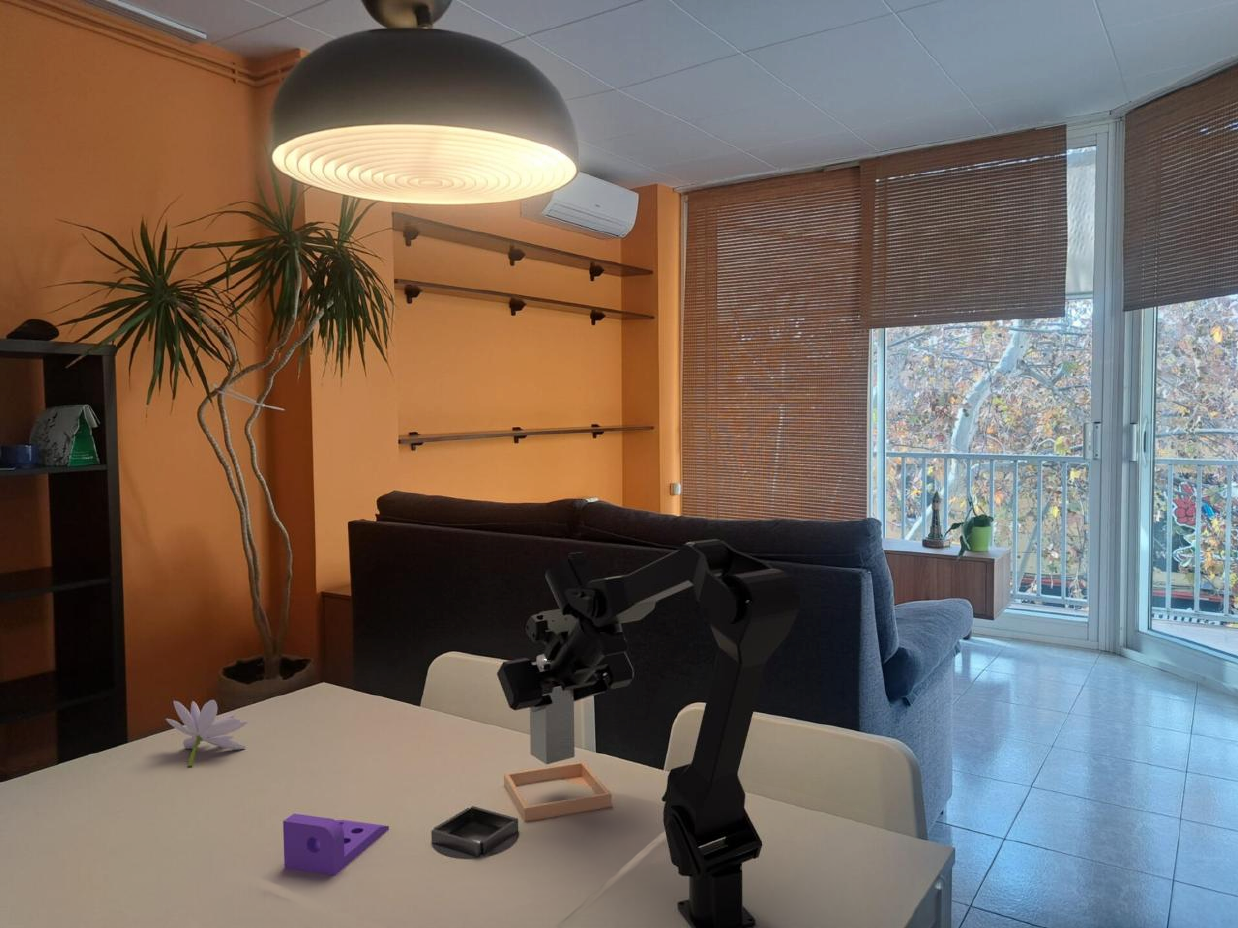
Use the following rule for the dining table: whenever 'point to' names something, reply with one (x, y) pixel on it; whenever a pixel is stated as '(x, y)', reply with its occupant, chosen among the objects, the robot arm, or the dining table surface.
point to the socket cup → (475, 834)
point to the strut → (553, 725)
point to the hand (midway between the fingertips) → (547, 705)
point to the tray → (568, 773)
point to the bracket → (325, 842)
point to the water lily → (206, 727)
